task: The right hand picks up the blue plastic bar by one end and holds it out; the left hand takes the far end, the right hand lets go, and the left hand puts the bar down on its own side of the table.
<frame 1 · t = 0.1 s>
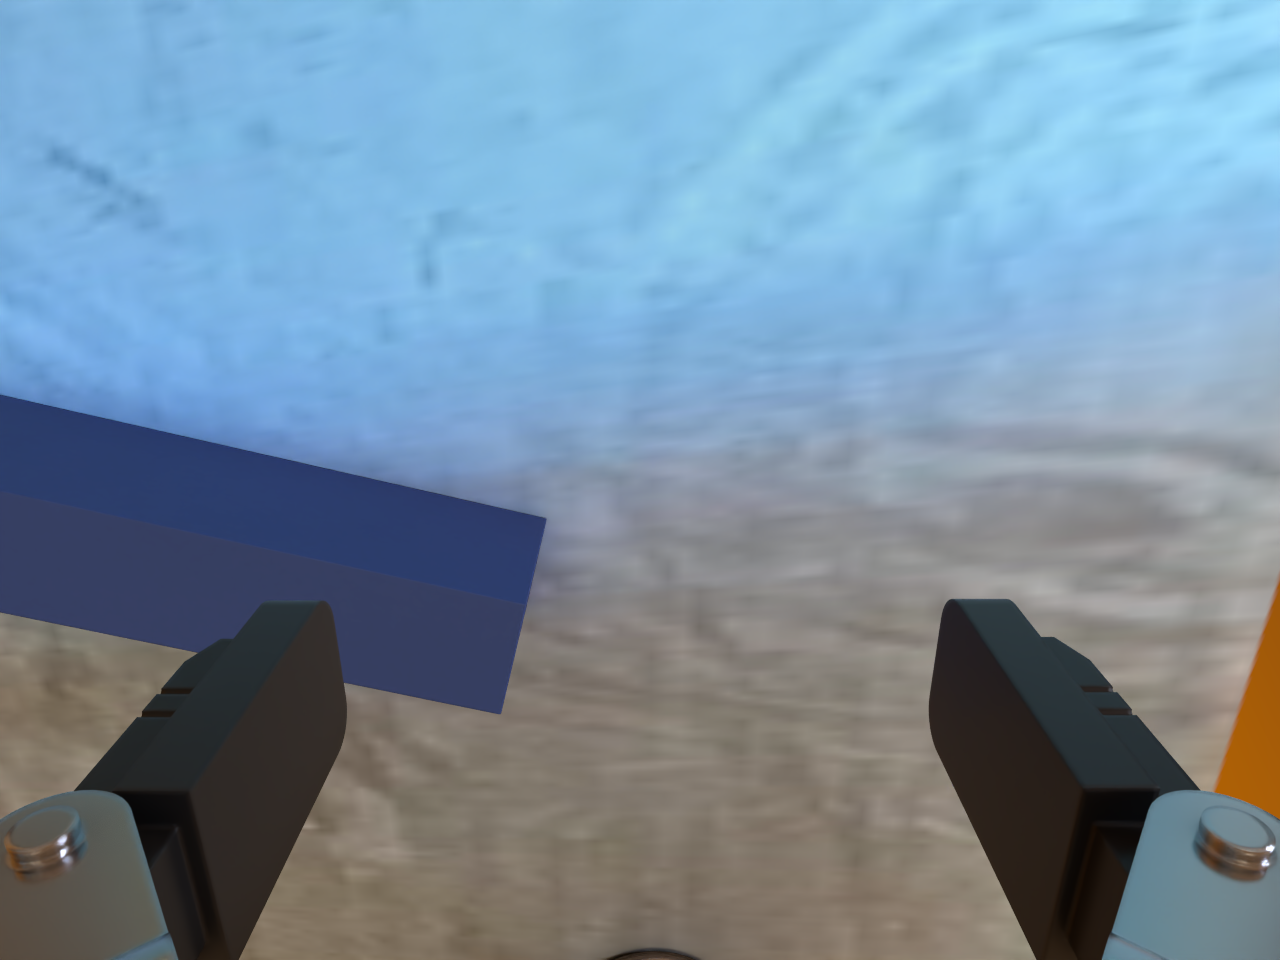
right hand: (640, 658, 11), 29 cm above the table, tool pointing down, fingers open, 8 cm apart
bar: (264, 507, 42), on the table
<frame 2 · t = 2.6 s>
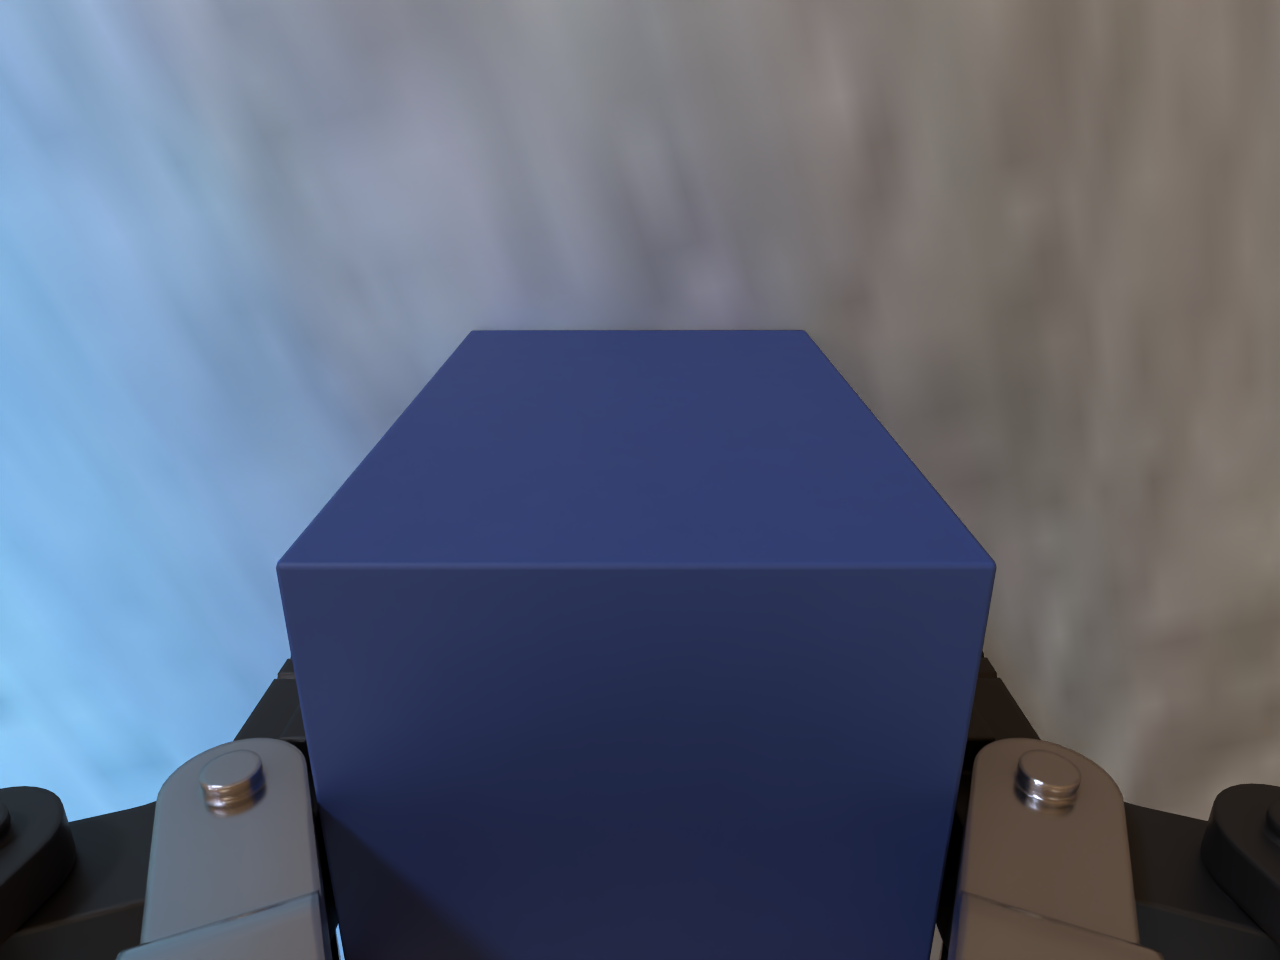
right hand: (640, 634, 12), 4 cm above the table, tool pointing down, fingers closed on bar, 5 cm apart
bar: (638, 930, 19), on the table, touching right hand
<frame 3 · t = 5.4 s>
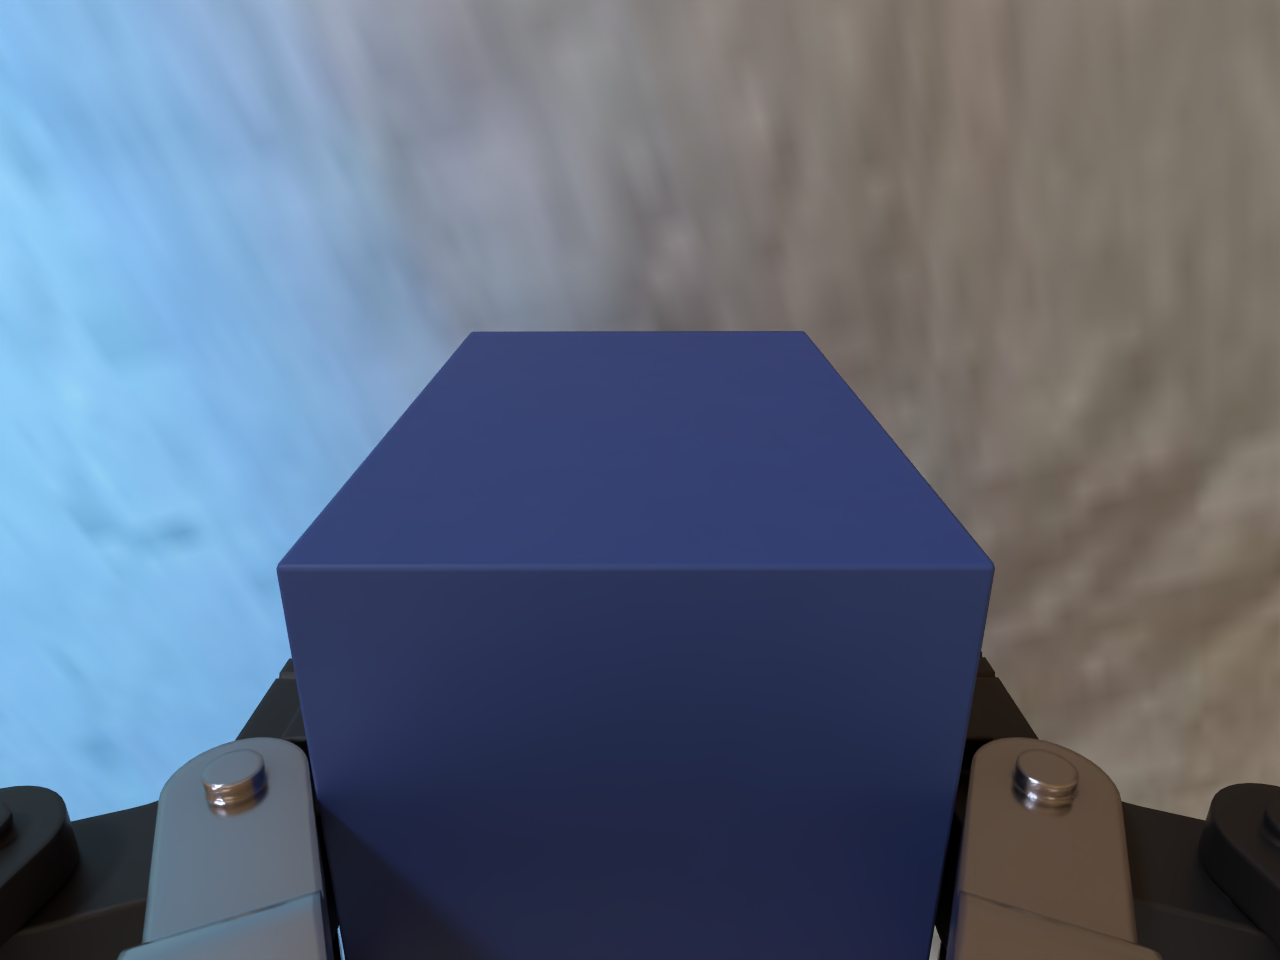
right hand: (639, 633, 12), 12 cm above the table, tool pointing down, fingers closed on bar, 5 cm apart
bar: (639, 930, 19), point 8 cm above the table, touching right hand
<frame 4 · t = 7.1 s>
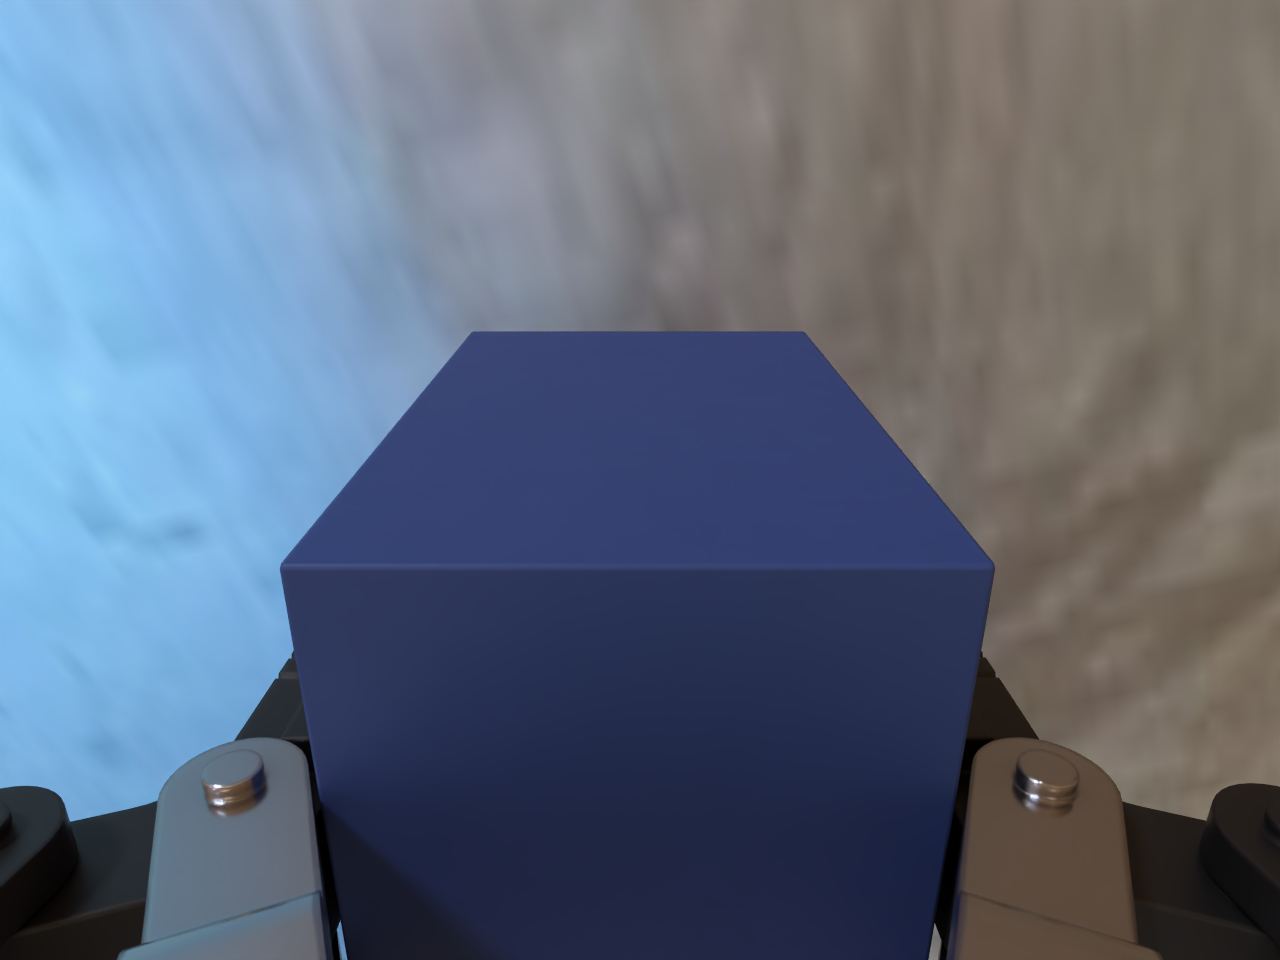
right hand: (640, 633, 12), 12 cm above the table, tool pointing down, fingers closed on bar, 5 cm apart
bar: (638, 929, 19), point 8 cm above the table, touching right hand, left hand
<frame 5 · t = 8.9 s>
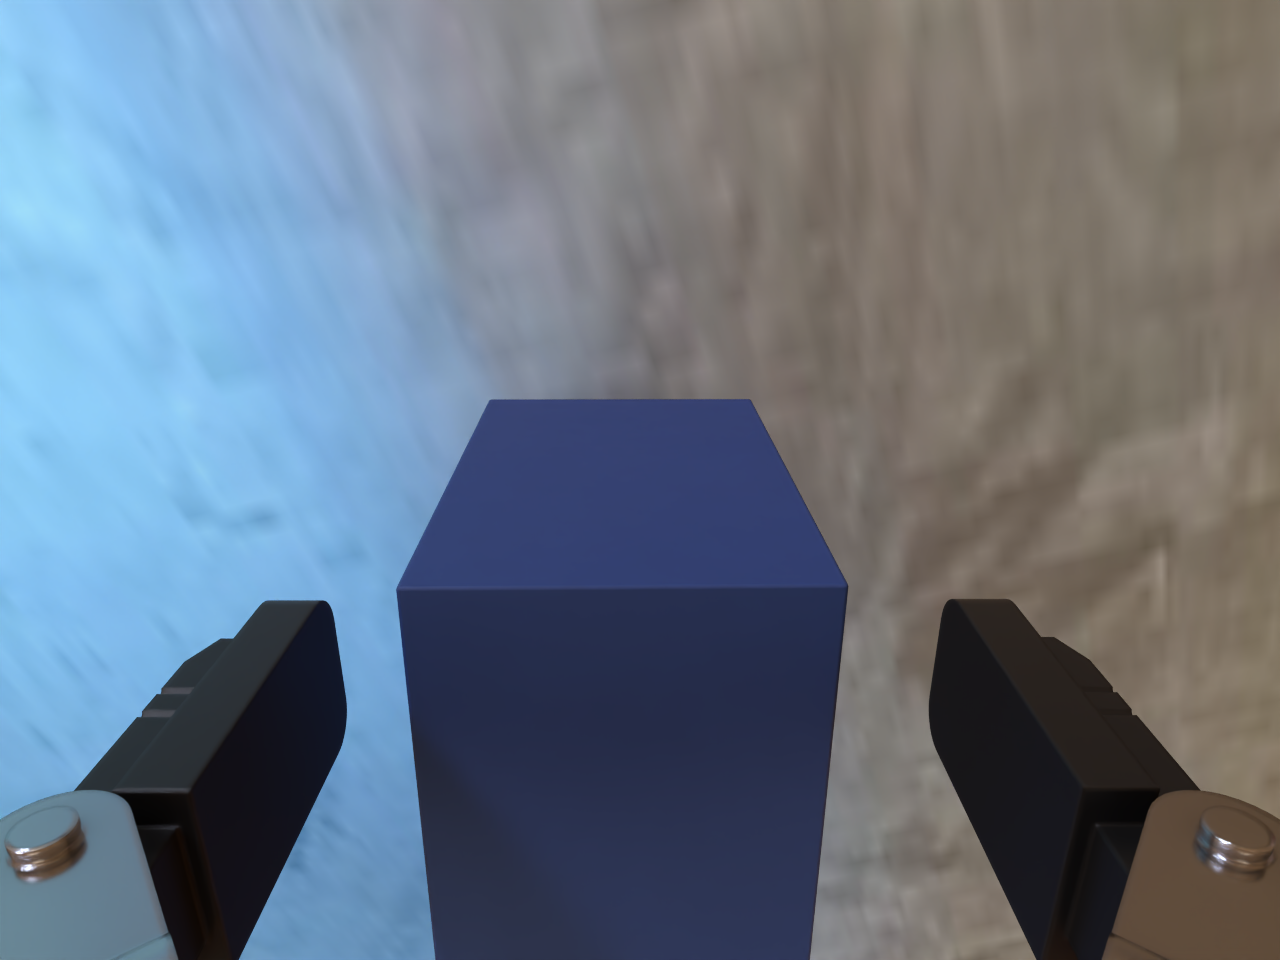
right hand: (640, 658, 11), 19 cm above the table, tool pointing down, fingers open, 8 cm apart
bar: (621, 887, 23), point 11 cm above the table, touching left hand
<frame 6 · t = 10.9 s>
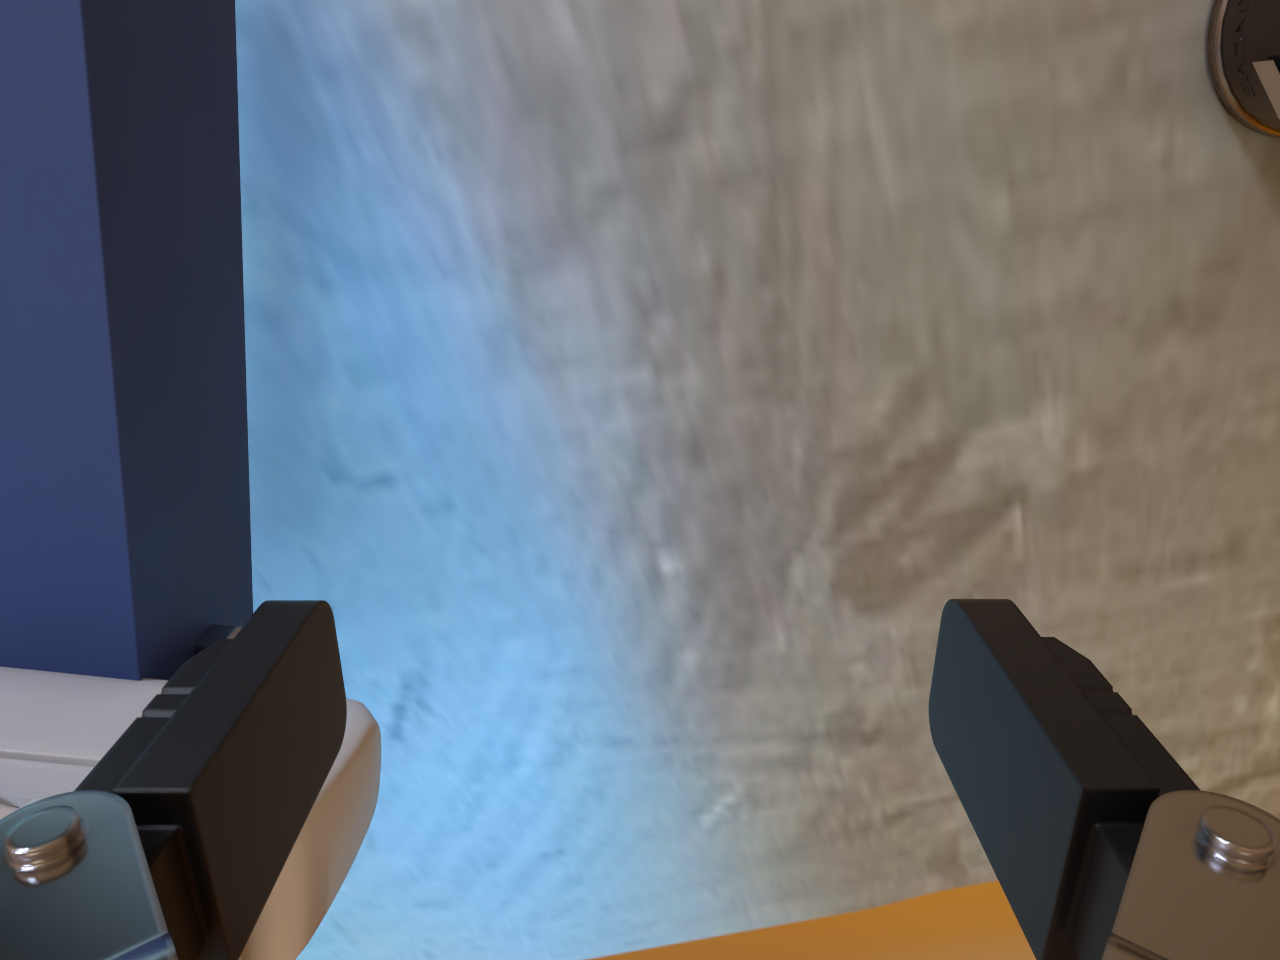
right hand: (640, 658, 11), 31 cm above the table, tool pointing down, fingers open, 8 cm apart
bar: (165, 334, 31), point 11 cm above the table, touching left hand
when the left hand's fingers open (4 cm above the table, at t = 15.0 s): bar stays where it is, on the table.
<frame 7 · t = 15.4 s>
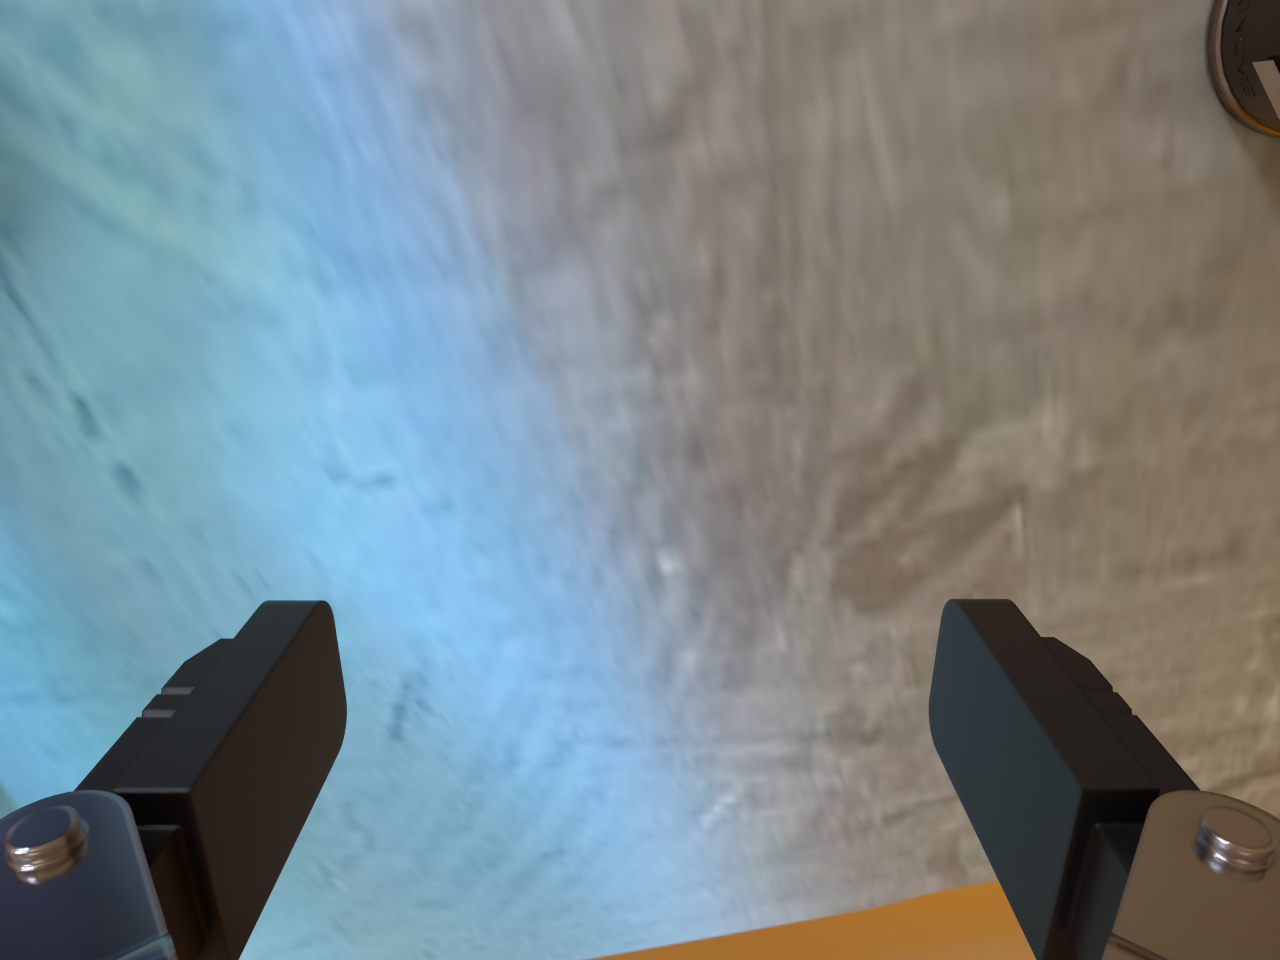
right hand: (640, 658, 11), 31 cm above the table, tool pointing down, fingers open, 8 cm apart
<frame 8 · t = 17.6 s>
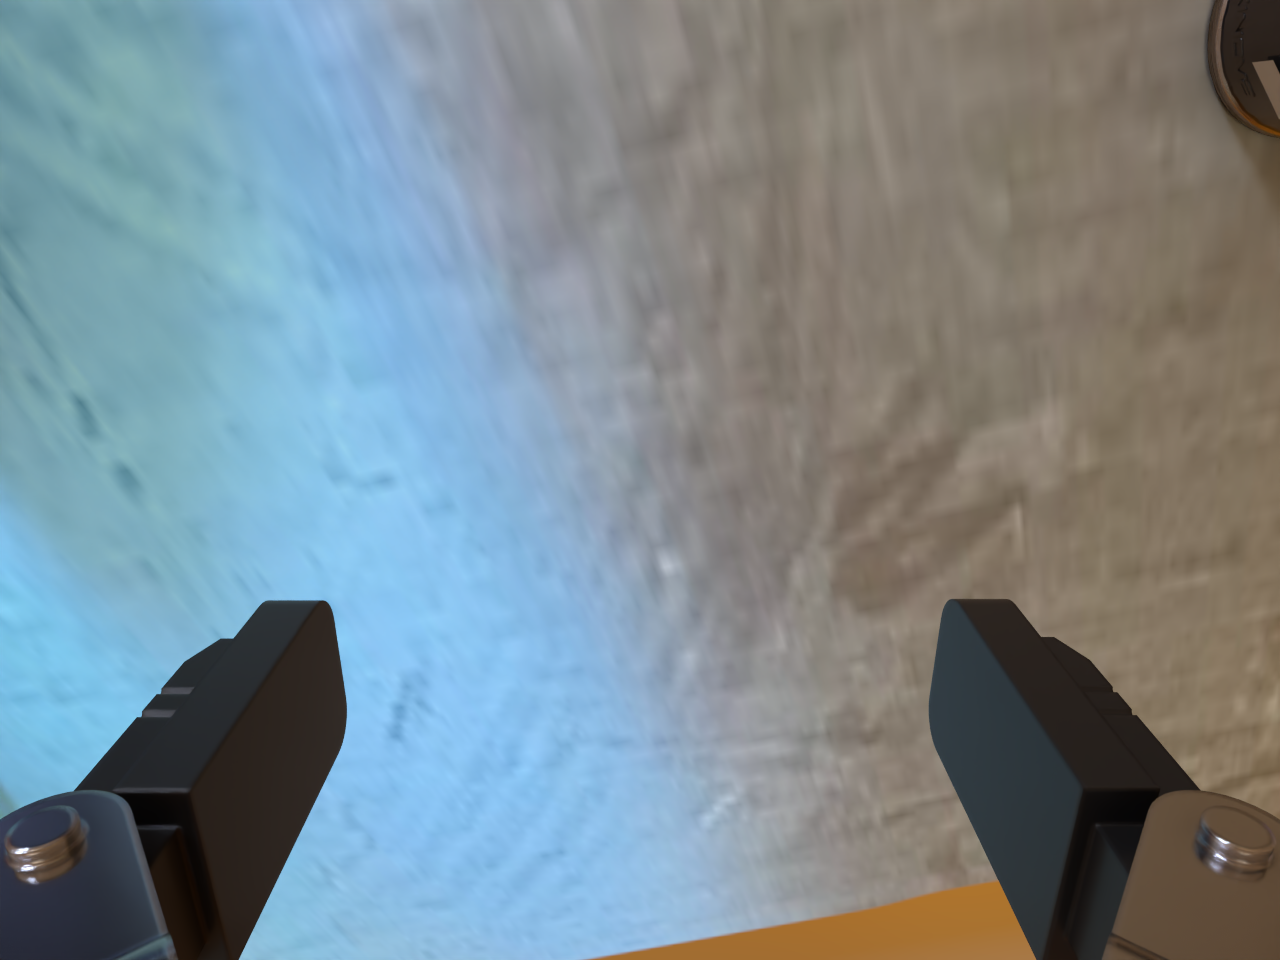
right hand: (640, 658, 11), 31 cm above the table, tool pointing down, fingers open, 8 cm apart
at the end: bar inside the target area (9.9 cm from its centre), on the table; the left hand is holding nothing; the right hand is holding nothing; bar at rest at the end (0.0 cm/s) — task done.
